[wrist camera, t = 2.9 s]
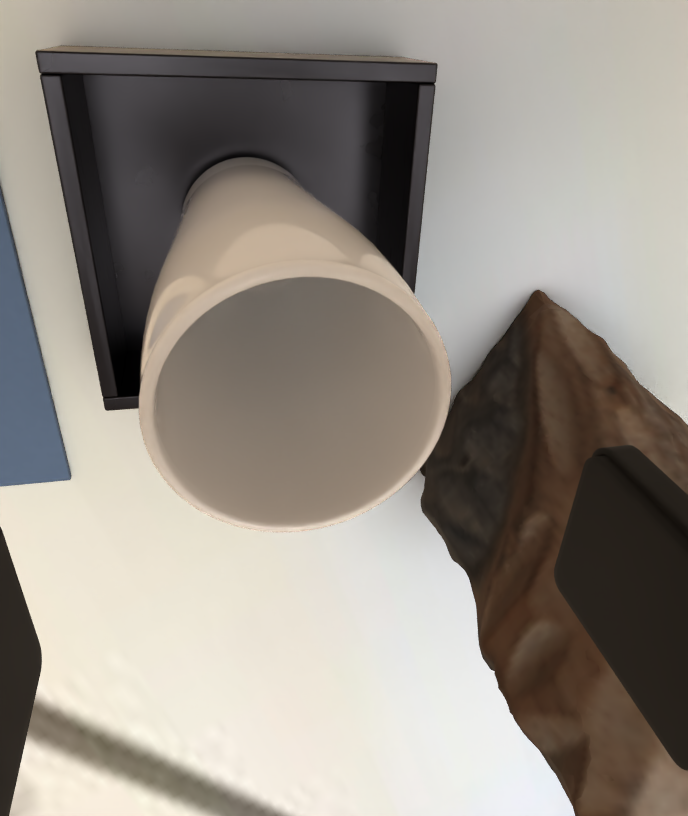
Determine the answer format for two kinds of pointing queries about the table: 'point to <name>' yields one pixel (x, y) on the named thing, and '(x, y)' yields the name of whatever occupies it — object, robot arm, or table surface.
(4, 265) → the cloth
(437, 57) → the table surface
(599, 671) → the brown craggy rock
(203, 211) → the drinking glass
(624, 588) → the robot arm
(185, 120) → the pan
